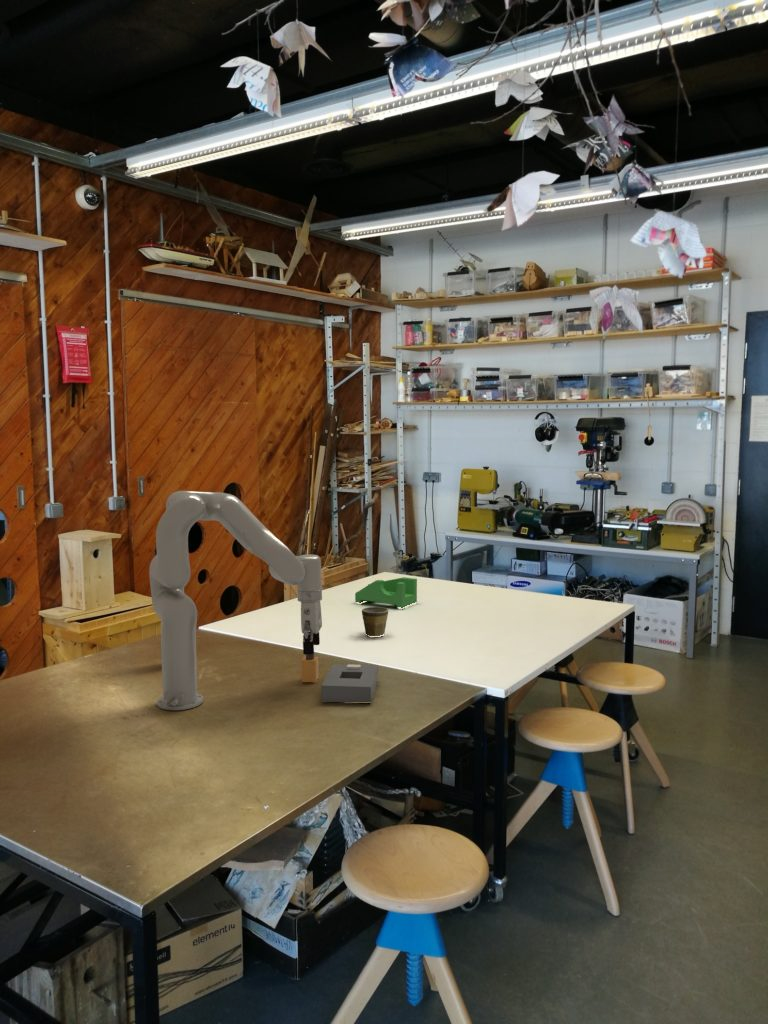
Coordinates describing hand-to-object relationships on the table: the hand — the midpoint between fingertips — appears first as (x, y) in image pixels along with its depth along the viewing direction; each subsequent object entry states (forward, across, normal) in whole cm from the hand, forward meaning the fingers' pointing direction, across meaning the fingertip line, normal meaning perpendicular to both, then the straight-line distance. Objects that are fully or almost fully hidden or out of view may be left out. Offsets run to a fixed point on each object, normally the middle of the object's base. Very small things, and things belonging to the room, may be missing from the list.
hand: (311, 649), depth 236 cm
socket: (+10, -10, -13) cm, 19 cm away
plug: (+10, 0, +1) cm, 10 cm away
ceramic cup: (+11, +54, -13) cm, 57 cm away
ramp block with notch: (+12, +106, -13) cm, 108 cm away
